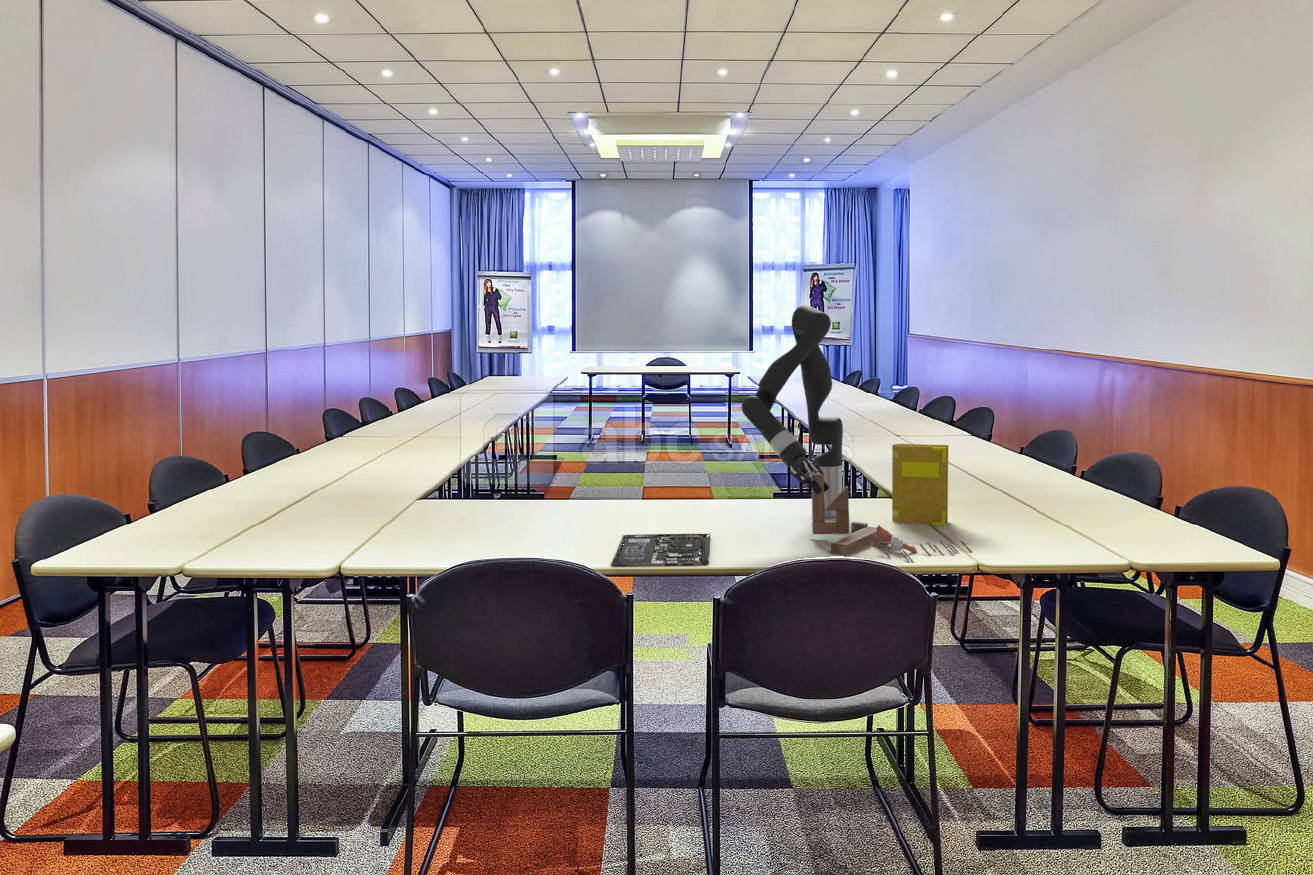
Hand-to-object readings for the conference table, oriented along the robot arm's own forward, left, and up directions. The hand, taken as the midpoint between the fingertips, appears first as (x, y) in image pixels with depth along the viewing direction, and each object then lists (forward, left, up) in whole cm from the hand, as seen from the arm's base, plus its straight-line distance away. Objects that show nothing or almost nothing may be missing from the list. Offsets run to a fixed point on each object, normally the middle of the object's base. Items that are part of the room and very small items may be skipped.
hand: (823, 490), depth 279 cm
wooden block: (+2, +1, -13) cm, 13 cm away
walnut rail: (+9, 0, -15) cm, 18 cm away
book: (+14, +38, -15) cm, 43 cm away
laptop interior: (-34, -35, -16) cm, 51 cm away
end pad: (+2, +3, -15) cm, 16 cm away
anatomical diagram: (+30, +2, -16) cm, 34 cm away
